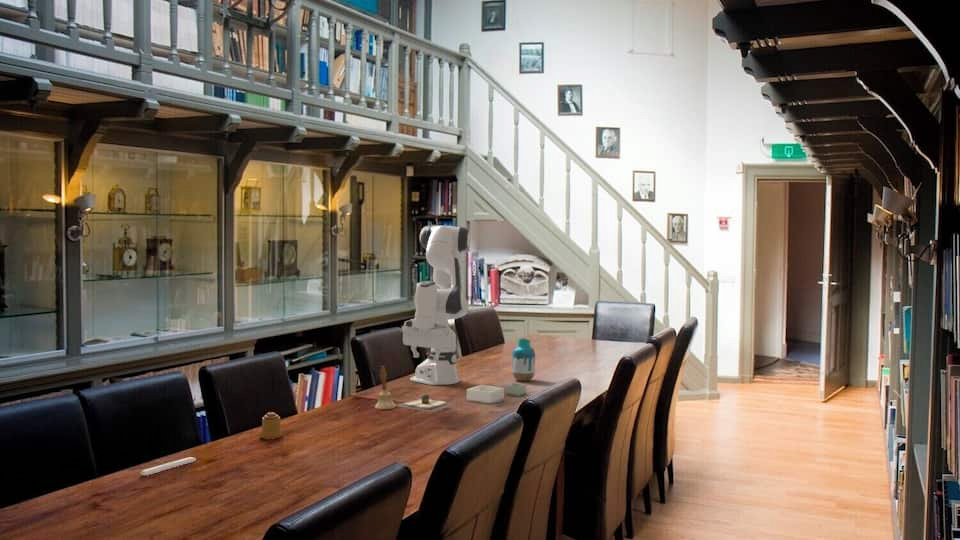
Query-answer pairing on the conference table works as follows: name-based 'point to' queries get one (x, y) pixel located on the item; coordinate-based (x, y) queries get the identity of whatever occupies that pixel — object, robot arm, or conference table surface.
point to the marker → (167, 466)
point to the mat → (425, 409)
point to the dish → (485, 394)
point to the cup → (515, 389)
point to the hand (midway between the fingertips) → (425, 358)
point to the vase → (523, 360)
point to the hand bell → (384, 393)
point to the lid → (425, 403)
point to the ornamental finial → (271, 426)
